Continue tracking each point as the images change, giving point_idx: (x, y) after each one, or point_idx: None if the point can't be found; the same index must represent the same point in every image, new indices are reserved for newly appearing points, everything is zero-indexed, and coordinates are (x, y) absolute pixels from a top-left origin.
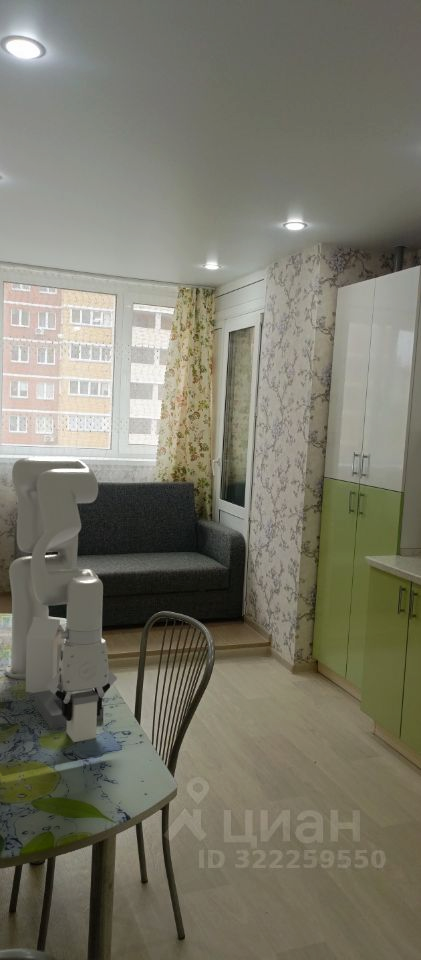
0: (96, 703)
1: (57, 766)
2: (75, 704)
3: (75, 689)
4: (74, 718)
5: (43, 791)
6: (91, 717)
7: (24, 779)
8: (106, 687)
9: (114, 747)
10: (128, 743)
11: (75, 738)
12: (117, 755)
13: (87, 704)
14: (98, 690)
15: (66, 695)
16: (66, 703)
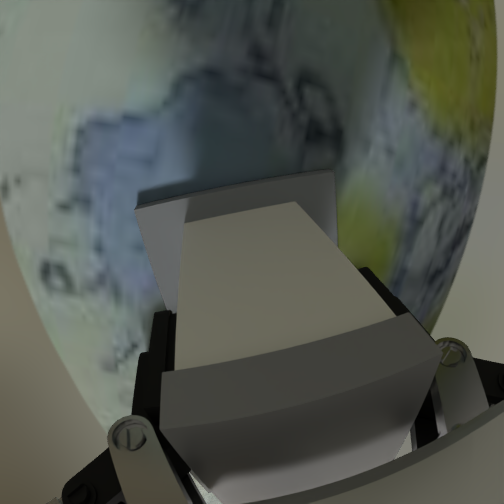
0: (180, 357)
1: (382, 53)
2: (399, 320)
3: (494, 430)
4: (346, 259)
5: None
6: (217, 279)
7: (470, 33)
8: (90, 489)
9: (106, 152)
10: (47, 182)
11: (294, 211)
12: (106, 72)
13: (273, 343)
14: (162, 477)
15: (476, 384)
16: (438, 340)
